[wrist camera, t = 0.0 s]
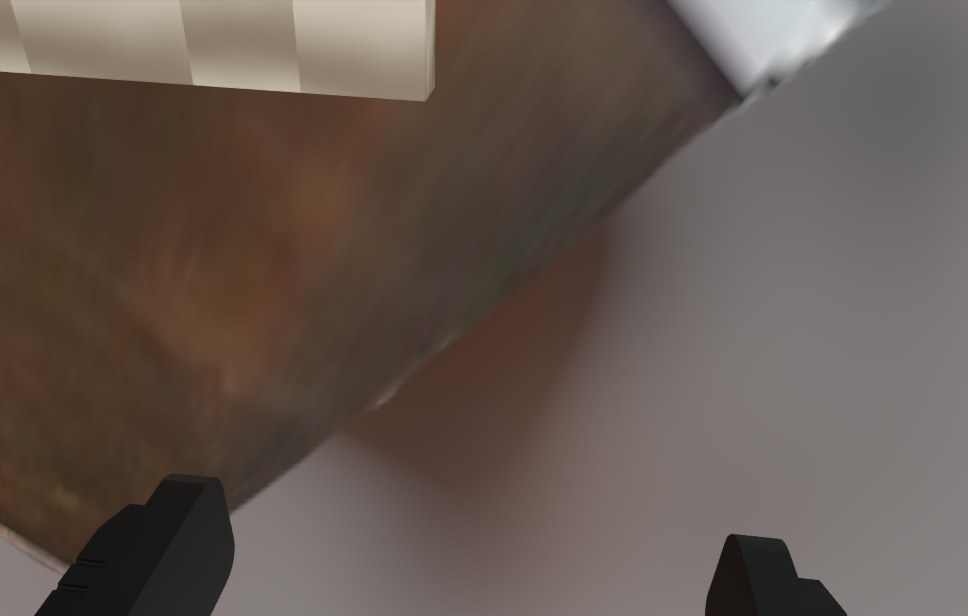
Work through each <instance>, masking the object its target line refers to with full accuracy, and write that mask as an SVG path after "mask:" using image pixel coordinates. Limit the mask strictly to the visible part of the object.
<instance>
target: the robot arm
mask: <svg viewBox="0 0 968 616" xmlns="http://www.w3.org/2000/svg"><path fill="white" fill-rule="evenodd" d="M234 551H235V543H234V537H233V532H232V527H231V523H230V518H229V513H228V508H227V503H226V499H225V494H224V489H223V485H222V483H221V481H220V480H219V479H218V478H212V477H202V476H193V475H183V474H169V475H167V476H166V477H165V478H164V479H163V480H162V481H161V482H160V484H159V485H158V487H157V488H156V490H155V491H154V492H153V494H152V495H151V497H150V498H149V500H148V501H147V503H146V504H145V505H137V504H129V505H128V506H126V507H125V508H124V509H122V510H121V511H120V512H119V513H117V514H116V515H115V516H113V517H112V518H111V519H110V520H108V521H107V522H106V523H104V524H103V525H102V526H100V527H99V528H98V529H97V531H96V532H95V533H94V535H93V536H92V537H91V539H90V540H89V542H88V543H87V544H86V546H85V547H84V548H83V550H82V551H81V552H80V554H79V555H78V557H77V558H76V563H75V564H74V565H73V564H72V565H71V566H70V567H69V569H68V570H67V572H66V573H65V574H64V576H63V577H62V578H61V580H60V581H59V582H58V587H57V589H56V590H53V591H52V592H51V593H50V595H49V596H48V597H47V599H46V600H45V602H44V603H43V604H42V606H41V607H40V608H39V610H38V611H37V613H36V614H35V615H34V616H210V615H211V613H212V611H213V609H214V607H215V605H216V603H217V601H218V599H219V597H220V595H221V593H222V591H223V589H224V587H225V585H226V582H227V580H228V578H229V575H230V572H231V569H232V565H233V560H234ZM705 616H847V614H846V612H845V611H844V610H843V609H842V607H841V606H840V605H839V604H838V602H837V601H836V600H835V599H834V598H833V596H832V595H831V594H830V593H829V591H828V590H827V589H826V588H825V587H824V585H823V584H822V583H821V582H820V581H819V580H813V579H803V578H798V576H797V573H796V570H795V567H794V564H793V561H792V558H791V556H790V553H789V550H788V548H787V546H786V544H785V543H784V542H783V541H782V540H781V539H775V538H765V537H757V536H747V535H737V534H730V535H729V536H728V537H727V539H726V541H725V544H724V547H723V550H722V553H721V556H720V559H719V562H718V565H717V568H716V571H715V574H714V577H713V580H712V583H711V586H710V589H709V592H708V595H707V600H706V608H705Z"/></svg>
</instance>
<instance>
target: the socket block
mask: <svg viewBox="0 0 968 616" xmlns="http://www.w3.org/2000/svg"><path fill="white" fill-rule="evenodd" d="M0 71H3V72H18V73H32V74H46V75H60V76H74V77H88V78H102V79H116V80H130V81H145V82H159V83H173V84H187V85H201V86H215V87H229V88H243V89H257V90H272V91H286V92H300V93H314V94H328V95H342V96H356V97H370V98H385V99H399V100H413V101H426V99H427V98H428V96H429V95H430V93H431V92H432V90H433V89H434V87H435V0H0Z"/></svg>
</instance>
